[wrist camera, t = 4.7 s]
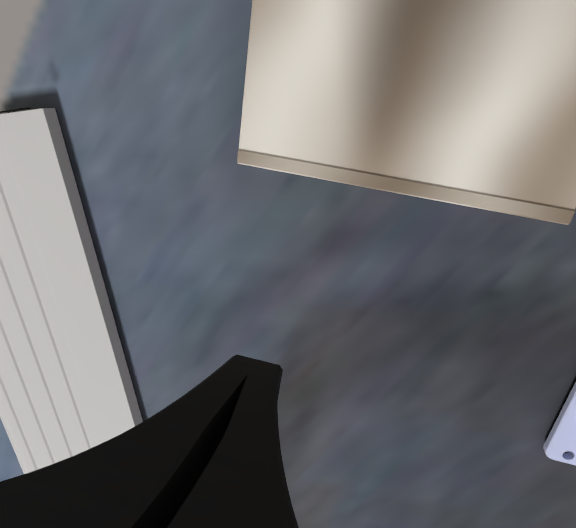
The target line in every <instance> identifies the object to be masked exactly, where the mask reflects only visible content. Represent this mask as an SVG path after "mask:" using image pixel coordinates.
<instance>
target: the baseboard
mask: <svg viewBox="0 0 576 528" xmlns="http://www.w3.org/2000/svg"><path fill="white" fill-rule="evenodd" d="M24 109H30V108H19V109H16V110H9V111H1V112H0V113H3V112H10V111H17V110H24ZM0 418H1V420H2V422H3V425H4V427H5V429H6V432H7V434H8V437H9V439H10V441H11V444H12V446H13V449H14V451H15V453H16V456H17V458H18V460H19V463H20V465H21V468H22V470H23V472H24V474H26V473H29V472H32V471H35V470H38V469H41V468H43V467H46V466H49V465H52V464H54V463H57V462H59V461H62V460H64V459H67V458H70V457H72V456H75V455H77V454H79V453H82V452H84V451H86V450H88V449H90V448H92V447H95V446H97V445H99V444H101V443H103V442H106V441H108V440H110V439H112V438H114V437H116V436H118V435H120V434H122V433H124V432H125V431H127V430H129V429H131V428H133V427H135V426H136V425H138V424H140V423H142V422H143V420H142V417H141V413H140V410H139V406H138V402H137V399H136V395H135V392H134V388H133V385H132V381H131V377H130V374H129V370H128V367H127V363H126V360H125V356H124V353H123V349H122V345H121V342H120V338H119V335H118V331H117V328H116V324H115V320H114V317H113V313H112V310H111V306H110V303H109V299H108V295H107V292H106V288H105V285H104V281H103V278H102V274H101V271H100V267H99V263H98V260H97V256H96V253H95V249H94V246H93V242H92V238H91V235H90V231H89V228H88V224H87V221H86V217H85V213H84V210H83V206H82V203H81V199H80V196H79V192H78V189H77V185H76V181H75V178H74V174H73V171H72V167H71V164H70V160H69V156H68V153H67V149H66V146H65V142H64V139H63V135H62V131H61V128H60V124H59V121H58V117H57V114H56V110H55V108H42V109H34V110H27V111H20V112H12V113H5V114H0Z"/></svg>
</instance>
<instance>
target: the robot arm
mask: <svg viewBox="0 0 576 528" xmlns="http://www.w3.org/2000/svg"><path fill="white" fill-rule="evenodd" d="M282 371H283V370H282V368H281V367H280V365H276V364H272V363H268V362H264V361H260V360H256V359H252V358H248V357H244V356H240V355H235V356H233V357H232V358H231V359H229V360H228V361H227V362H226V363H225V364H223V365H222V366H221V367H220V368H219V369H217V370H216V371H215V372H214V373H213V374H211V375H210V376H209V377H208V378H206V379H205V380H204V381H202V382H201V383H200V384H198V385H197V386H196V387H194V388H193V389H192V390H190V391H189V392H188V393H186V394H185V395H184V396H182V397H181V398H179V399H178V400H176V401H175V402H173V403H172V404H170V405H169V406H167V407H166V408H164V409H163V410H161V411H160V412H158V413H157V414H155V415H153V416H152V417H150V418H148V419H147V420H145V421H143V422H142V423H140V424H138V425H136V426H135V427H133V428H131V429H129V430H127V431H125V432H124V433H122V434H120V435H118V436H116V437H114V438H112V439H110V440H108V441H106V442H103V443H101V444H99V445H97V446H95V447H92V448H90V449H88V450H86V451H84V452H82V453H79V454H77V455H75V456H72V457H70V458H67V459H64V460H62V461H59V462H57V463H54V464H52V465H49V466H46V467H43V468H41V469H38V470H35V471H32V472H29V473H26V474H24V475H21V476H18V477H14V478H11V479H8V480H4V481H1V482H0V528H298V525H297V521H296V518H295V514H294V511H293V508H292V504H291V500H290V496H289V491H288V487H287V483H286V478H285V473H284V468H283V462H282V456H281V449H280V440H279V430H278V412H277V400H278V394H279V388H280V383H281V377H282ZM543 448H544V451H545V453H546V455H547V456H548V457H549V458H551V459H553V460H557V461H561V462H564V463H568V464H572V465H576V382H575V384H574V386H573V388H572V390H571V392H570V394H569V396H568V398H567V400H566V402H565V404H564V406H563V408H562V410H561V412H560V414H559V416H558V418H557V420H556V422H555V424H554V426H553V428H552V430H551V432H550V434H549V436H548V438H547V440H546V442H545V444H544V447H543ZM567 451H570V452H569V453H566V454H565V453H564V452H567Z"/></svg>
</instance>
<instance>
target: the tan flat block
mask: <svg viewBox="0 0 576 528" xmlns="http://www.w3.org/2000/svg"><path fill="white" fill-rule="evenodd" d="M237 162H238V164H244V165H249V166H255V167H260V168H265V169H271V170H276V171H281V172H287V173H292V174H297V175H303V176H308V177H314V178H319V179H324V180H330V181H335V182H340V183H346V184H351V185H357V186H362V187H367V188H373V189H378V190H383V191H389V192H394V193H399V194H405V195H410V196H416V197H421V198H426V199H432V200H437V201H442V202H448V203H453V204H459V205H464V206H469V207H475V208H480V209H485V210H491V211H496V212H501V213H507V214H512V215H518V216H523V217H528V218H534V219H539V220H544V221H550V222H555V223H561V224H566V225H568V224H570V222H571V219H572V217H573V215H574V212H575V211H574V210H575V208H576V0H253V2H252V12H251V23H250V34H249V45H248V56H247V66H246V77H245V88H244V99H243V109H242V120H241V131H240V142H239V150H238V158H237Z"/></svg>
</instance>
